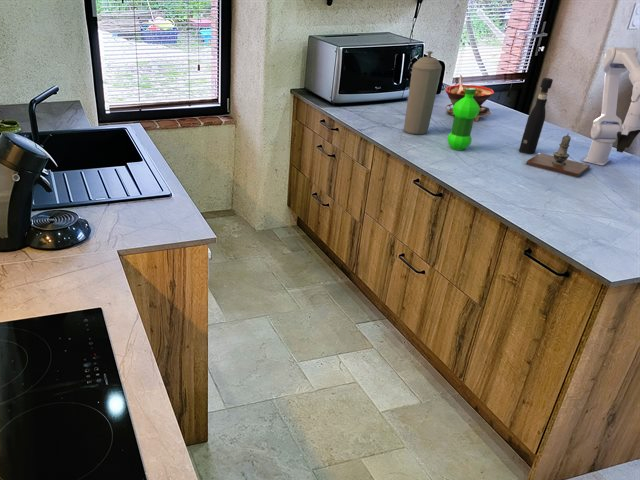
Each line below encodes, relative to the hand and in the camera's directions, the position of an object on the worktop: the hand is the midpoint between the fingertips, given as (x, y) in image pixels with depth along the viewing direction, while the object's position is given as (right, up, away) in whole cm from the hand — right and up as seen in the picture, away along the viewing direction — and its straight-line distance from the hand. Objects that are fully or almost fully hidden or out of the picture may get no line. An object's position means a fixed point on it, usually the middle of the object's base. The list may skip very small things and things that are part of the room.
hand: (622, 149), depth 226 cm
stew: (-32, +38, +76) cm, 91 cm away
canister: (-65, +21, +49) cm, 84 cm away
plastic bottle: (-52, +8, +30) cm, 61 cm away
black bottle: (-23, +6, +28) cm, 37 cm away
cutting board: (-18, -4, +13) cm, 22 cm away
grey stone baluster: (-18, -3, +12) cm, 22 cm away
